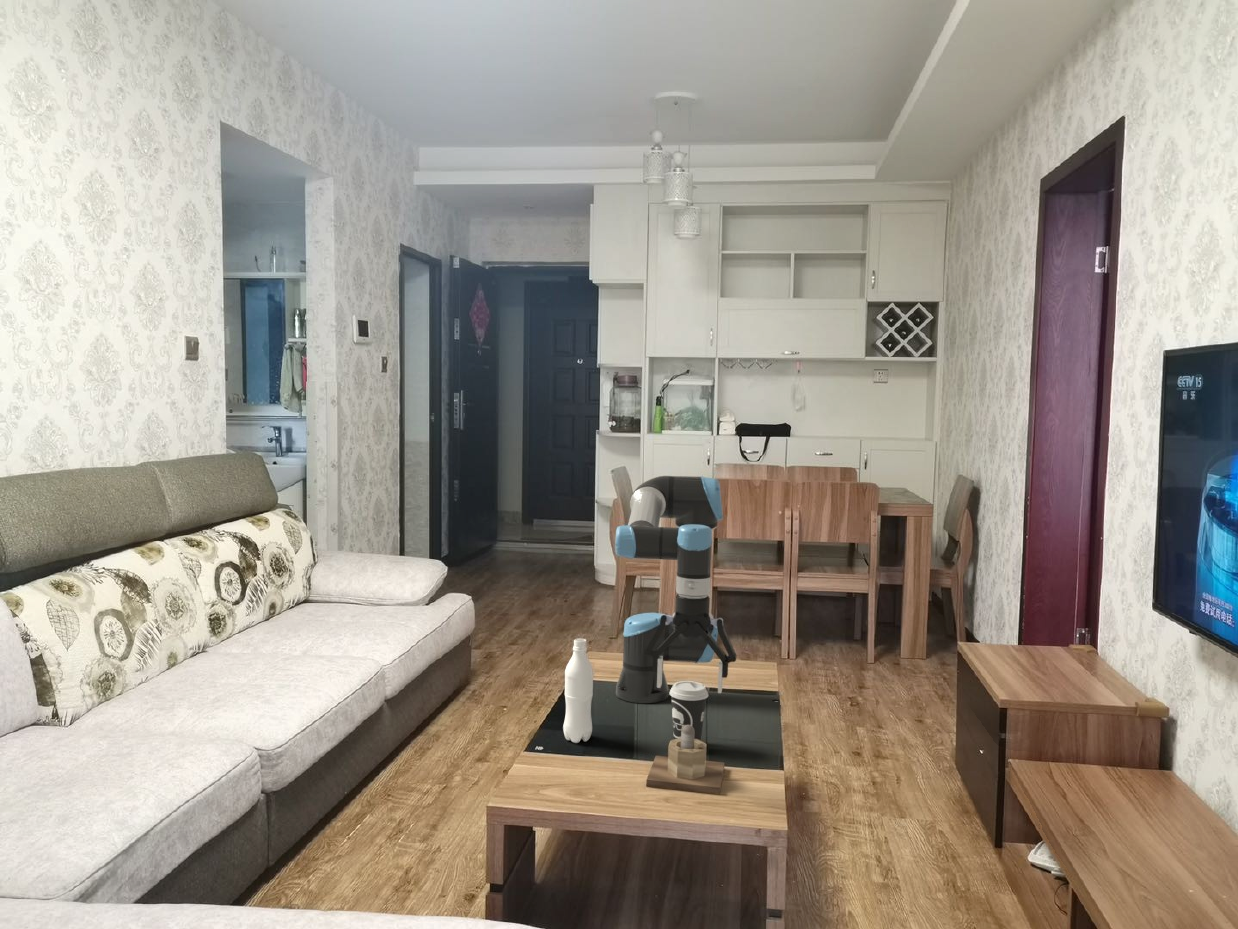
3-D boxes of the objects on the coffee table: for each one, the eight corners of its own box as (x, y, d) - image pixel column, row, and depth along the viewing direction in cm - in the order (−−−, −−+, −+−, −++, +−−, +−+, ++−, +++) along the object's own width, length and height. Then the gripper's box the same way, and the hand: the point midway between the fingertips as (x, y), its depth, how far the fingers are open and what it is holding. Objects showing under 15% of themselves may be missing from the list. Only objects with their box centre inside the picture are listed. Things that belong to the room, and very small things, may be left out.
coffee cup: (704, 755, 215) (706, 693, 214) (664, 750, 217) (666, 690, 216) (708, 740, 224) (710, 681, 223) (670, 736, 226) (672, 678, 225)
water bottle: (557, 739, 222) (559, 639, 221) (577, 731, 228) (580, 635, 226) (577, 747, 217) (580, 645, 216) (597, 739, 223) (600, 640, 221)
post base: (655, 761, 210) (657, 711, 209) (724, 769, 207) (726, 718, 206) (646, 786, 196) (648, 732, 195) (719, 794, 193) (721, 740, 192)
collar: (670, 762, 206) (671, 736, 206) (706, 765, 205) (707, 740, 204) (666, 776, 198) (667, 750, 198) (703, 780, 197) (704, 753, 196)
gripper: (634, 594, 197) (631, 688, 199) (748, 602, 193) (744, 699, 194) (640, 587, 205) (637, 678, 206) (750, 595, 200) (746, 688, 202)
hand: (689, 688), depth 200 cm, fingers open, 13 cm apart
